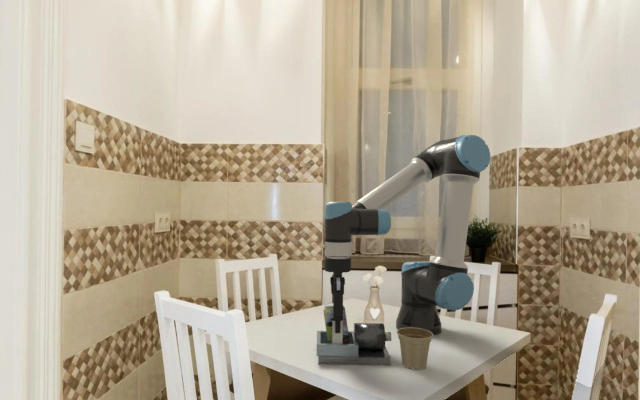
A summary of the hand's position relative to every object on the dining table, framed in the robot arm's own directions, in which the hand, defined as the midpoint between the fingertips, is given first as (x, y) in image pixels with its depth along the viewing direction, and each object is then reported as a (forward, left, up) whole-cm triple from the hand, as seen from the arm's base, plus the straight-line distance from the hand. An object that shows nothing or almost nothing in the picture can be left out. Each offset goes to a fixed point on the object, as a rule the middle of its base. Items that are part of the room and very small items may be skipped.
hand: (336, 339), depth 114 cm
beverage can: (0, 0, -2) cm, 2 cm away
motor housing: (-4, 0, -5) cm, 6 cm away
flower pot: (-20, +6, -5) cm, 22 cm away
